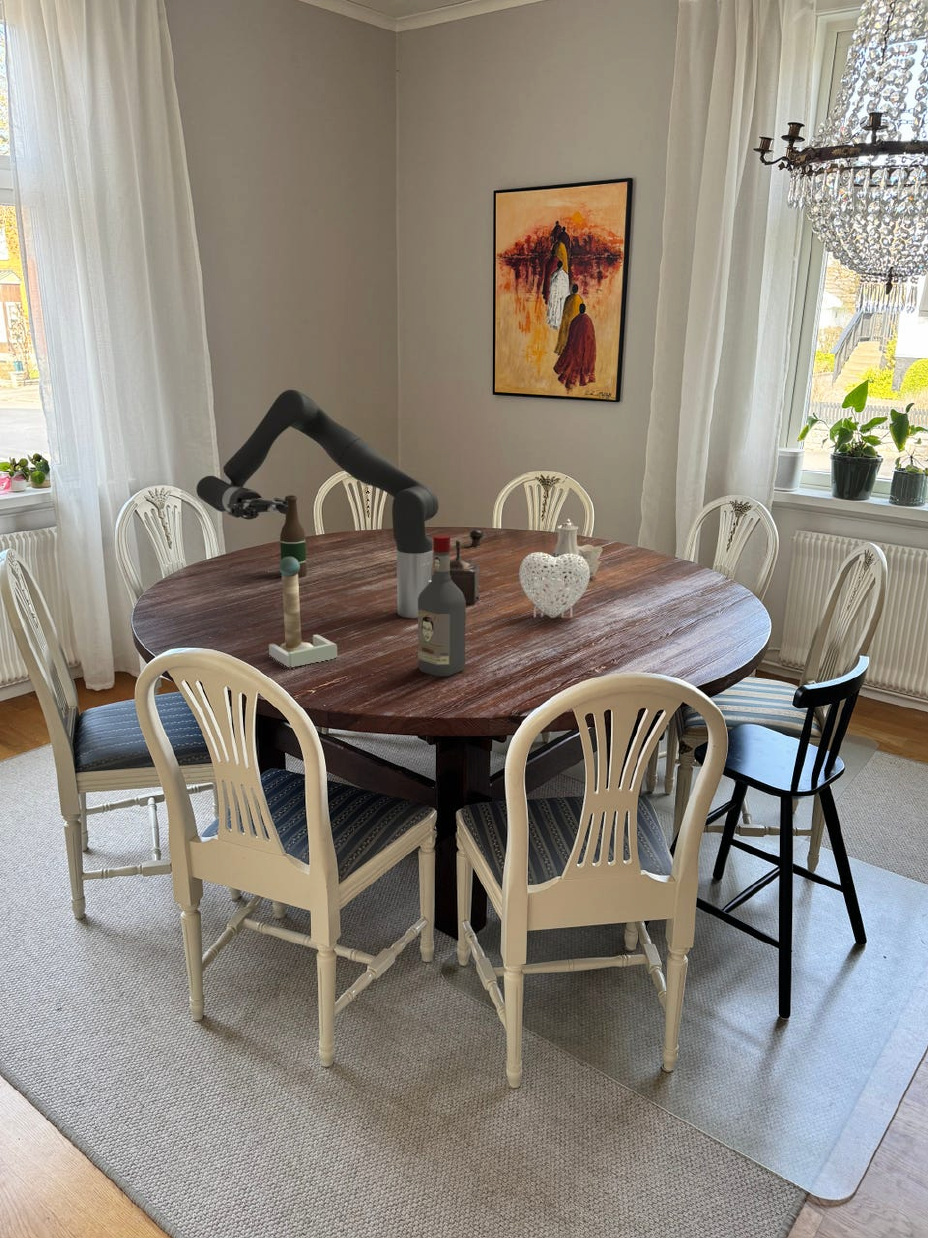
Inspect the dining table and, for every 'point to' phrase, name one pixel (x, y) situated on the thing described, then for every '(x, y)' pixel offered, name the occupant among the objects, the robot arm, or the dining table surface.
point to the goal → (305, 653)
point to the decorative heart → (554, 581)
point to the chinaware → (576, 547)
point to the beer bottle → (293, 537)
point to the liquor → (441, 618)
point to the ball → (305, 646)
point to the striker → (291, 603)
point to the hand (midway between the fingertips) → (271, 512)
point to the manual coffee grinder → (466, 570)
